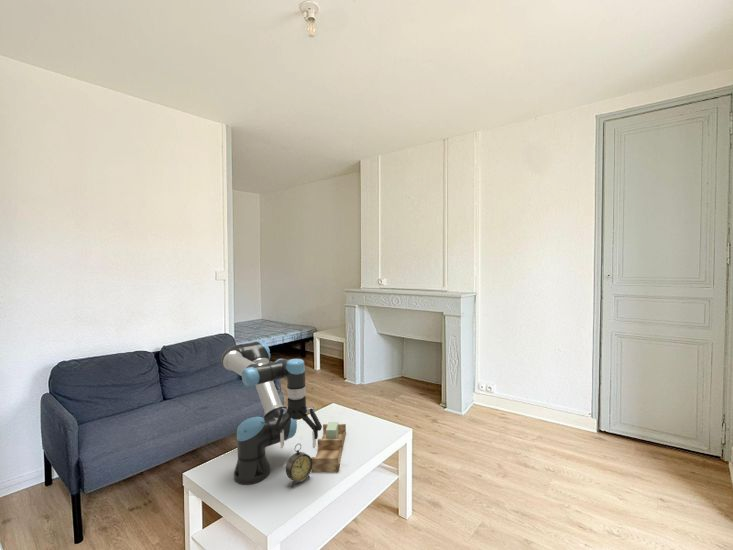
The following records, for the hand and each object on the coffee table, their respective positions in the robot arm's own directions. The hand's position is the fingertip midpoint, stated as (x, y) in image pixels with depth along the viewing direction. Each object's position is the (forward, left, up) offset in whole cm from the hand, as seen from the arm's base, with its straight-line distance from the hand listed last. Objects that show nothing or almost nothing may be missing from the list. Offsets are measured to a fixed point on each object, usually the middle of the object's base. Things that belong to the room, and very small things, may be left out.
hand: (298, 446), depth 148 cm
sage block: (+10, +31, -14) cm, 36 cm away
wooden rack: (+10, +23, -15) cm, 29 cm away
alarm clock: (0, 0, -15) cm, 15 cm away
